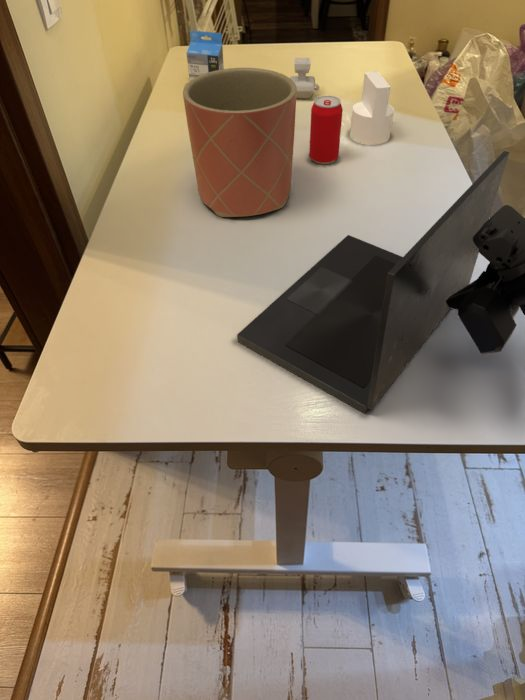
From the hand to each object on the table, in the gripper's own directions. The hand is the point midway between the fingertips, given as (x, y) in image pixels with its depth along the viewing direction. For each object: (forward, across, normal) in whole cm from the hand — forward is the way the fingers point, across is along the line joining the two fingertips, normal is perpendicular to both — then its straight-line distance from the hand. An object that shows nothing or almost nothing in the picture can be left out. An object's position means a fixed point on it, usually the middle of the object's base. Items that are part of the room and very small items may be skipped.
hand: (448, 302), depth 65 cm
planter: (+40, -16, -26) cm, 51 cm away
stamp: (+53, -62, -39) cm, 91 cm away
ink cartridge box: (+71, -53, -56) cm, 105 cm away
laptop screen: (0, 0, -4) cm, 4 cm away
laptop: (+16, 0, -2) cm, 16 cm away
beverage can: (+37, -38, -23) cm, 58 cm away
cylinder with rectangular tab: (+35, -53, -22) cm, 67 cm away
